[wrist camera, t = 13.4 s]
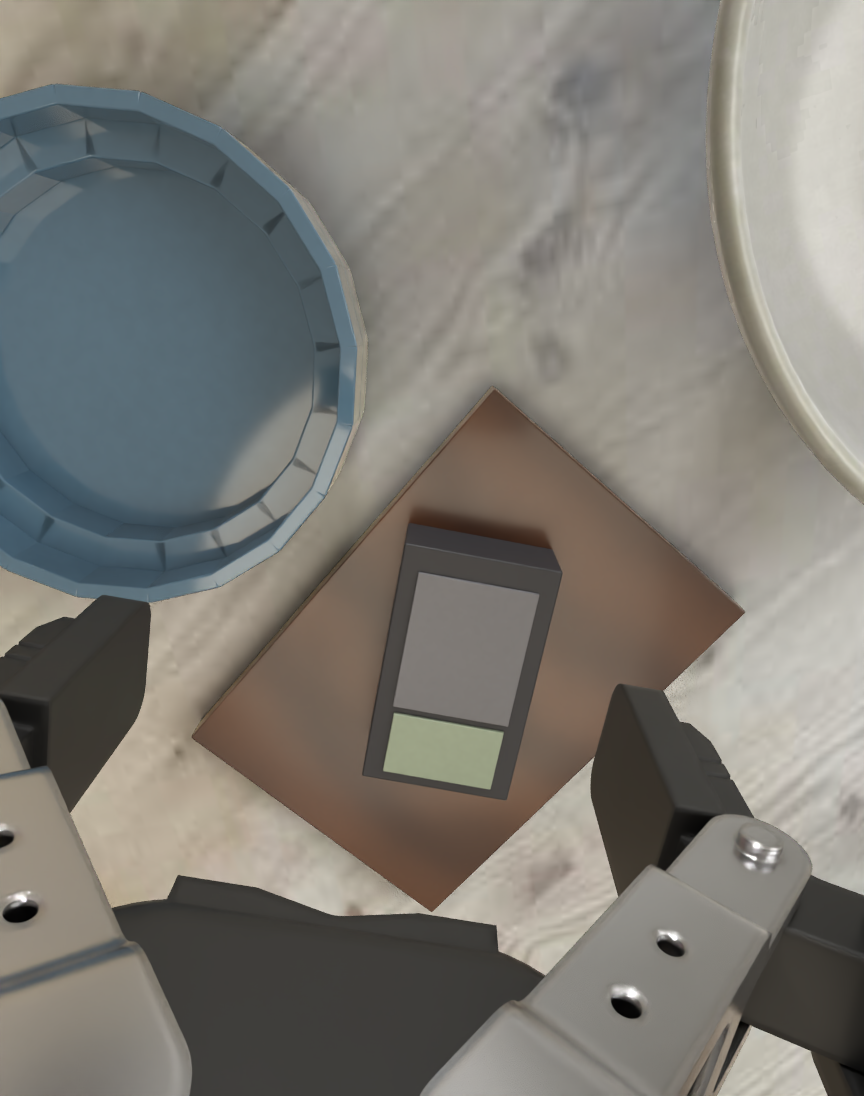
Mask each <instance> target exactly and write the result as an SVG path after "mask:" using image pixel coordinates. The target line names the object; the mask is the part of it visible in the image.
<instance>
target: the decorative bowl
mask: <svg viewBox="0 0 864 1096" xmlns="http://www.w3.org/2000/svg"><path fill="white" fill-rule="evenodd" d="M705 137H706V171H707V188H708V197H709V207H710V216H711V224H712V229H713V235H714V240H715V246H716V251H717V256H718V261H719V265H720V269H721V272H722V276H723V280H724V284H725V287H726V291H727V295H728V299H729V301H730V304H731V307H732V310H733V313H734V315H735V318H736V321H737V324H738V327H739V330H740V332H741V335H742V337H743V339H744V341H745V344H746V346H747V348H748V350H749V353H750V355H751V357H752V359H753V361H754V364H755V366H756V368H757V370H758V372H759V373H760V375H761V377H762V379H763V381H764V382H765V384H766V386H767V388H768V389H769V391H770V393H771V395H772V397H773V398H774V400H775V402H776V404H777V405H778V407H779V408H780V410H781V411H782V413H783V414H784V415H785V417H786V418H787V420H788V421H789V423H790V424H791V426H792V427H793V429H794V430H795V432H796V433H797V434H798V436H799V437H800V438H801V439H802V441H803V442H804V443H805V444H806V445H807V447H808V448H809V449H810V450H811V452H812V453H813V454H814V455H815V456H816V458H817V459H818V460H819V461H820V462H821V464H822V465H823V466H824V467H825V468H826V469H827V470H828V471H829V472H830V473H831V474H832V475H833V476H834V477H835V478H836V479H837V480H838V481H839V482H840V483H841V484H842V485H843V486H844V487H845V488H846V489H847V491H849V492H850V493H851V494H852V495H853V496H854V497H855V498H856V499H857V500H859V501H860V502H861V503H862V504H863V505H864V0H721V1H720V6H719V12H718V17H717V22H716V28H715V33H714V39H713V46H712V55H711V64H710V73H709V82H708V91H707V113H706V136H705Z"/></svg>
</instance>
